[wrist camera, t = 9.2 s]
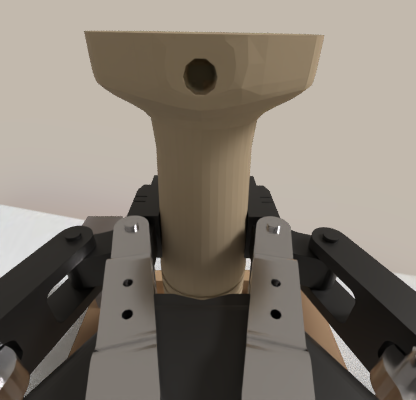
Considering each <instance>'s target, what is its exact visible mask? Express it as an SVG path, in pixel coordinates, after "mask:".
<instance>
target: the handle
mask: <svg viewBox="0 0 416 400" xmlns="http://www.w3.org/2000/svg"><path fill="white" fill-rule="evenodd" d="M84 32H85V37H86V43H87V47H88V52H89V57H90V62H91V66H92V70H93V73H94V77H95V79H96V81H97V83H99V84H100V85H101V86H102V87H104V88H105V89H106V90H108V91H109V92H111V93H112V94H114V95H116V96H117V97H119V98H121V99H123V100H125V101H127V102H129V103H131V104H133V105H135V106H137V107H138V108H140V109H142V110H144V111H145V112H146V113H147V114H148V115H149V116H150V117H151V120H152V126H153V131H154V136H155V142H156V148H157V167H158V189H159V209H160V225H161V240H162V258H161V272H162V281H163V288H164V294H177V295H181V296H186V297H190V298H194V299H199V300H206V299H210V298H214V297H219V296H223V295H227V294H242V289H243V282H244V275H245V266H246V258H244V250H245V238H246V224H247V210H248V195H249V179H250V163H251V162H250V161H251V147H252V142H253V137H254V132H255V127H256V123H257V119H258V118H259V117H260V116H261V115H262V114H263V113H265V112H266V111H268V110H270V109H272V108H274V107H276V106H278V105H280V104H282V103H284V102H287V101H289V100H291V99H293V98H294V97H296V96H297V95H299V94H301V93H302V92H303V91H305V90H306V89H307V88H309V87H310V86H311V85H312V83H313V81H314V77H315V74H316V70H317V66H318V62H319V57H320V53H321V48H322V44H323V39H324V35H311V34H310V35H309V34H273V33H225V32H223V33H222V32H165V31H164V32H163V31H162V32H161V31H84Z"/></svg>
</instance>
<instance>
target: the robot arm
mask: <svg viewBox="0 0 416 400" xmlns="http://www.w3.org/2000/svg"><path fill="white" fill-rule="evenodd" d="M156 258H162V240H161V225H160V209H159V189H158V175H155V176H154V178H153V181H152V184H151V185H143V186H142V187H141V188H139V189H138V191H137V193H136V196H135V198H134V200H133V203H132V205H131V207H130V210H129V213H128V215H127V217H125V218H122V219H120V220H119V221H118V222H117V223H116V224H115V225H114V230H111V231H108V232H103V233H99V234H93V231H92V229H91V228H89V227H87V226H74V227H70V228H67V229H65V230H63V231H62V232H60V233H59V234H57V235H56V236H55V237H53V238H52V239H51V240H50V241H48V242H47V243H46V244H44V245H43V246H42V247H40V248H39V249H38V250H36V251H35V252H34V253H32V254H31V255H30V256H29V257H27V258H26V259H25V260H23V261H22V262H21V263H19V264H18V265H17V266H15V267H14V268H13V269H11V270H10V271H9V272H8V273H6V274H5V275H4V276H2V277H1V278H0V400H416V291H414V290H413V289H412V288H411V287H409V286H408V285H407V284H406V283H404V282H403V281H402V280H401V279H399V278H398V277H397V276H396V275H394V274H393V273H392V272H390V271H389V270H388V269H387V268H385V267H384V266H383V265H381V264H380V263H379V262H378V261H377V260H375V259H374V258H373V257H372V256H370V255H369V254H368V253H367V252H365V251H364V250H363V249H362V248H360V247H359V246H358V245H357V244H355V243H354V242H353V241H351V240H350V239H349V238H348V237H346V236H345V235H344V234H342V233H341V232H339V231H337V230H335V229H331V228H325V227H322V228H317V229H315V230H314V231H313V232H312V235H307V234H302V233H298V232H295V231H292V230H291V227H290V225H289V224H288V223H287V222H286V221H285V220H283V219H281V218H280V216H279V214H278V211H277V209H276V207H275V204H274V201H273V199H272V196H271V194H270V191H269V190H268V189H266V188H265V187H264V186H256V183H255V180H254V177H253V176H250V179H249V195H248V210H247V224H246V238H245V250H244V258H250V259H251V266H250V274H249V284H248V293H247V294H227V295H223V296H219V297H214V298H210V299H206V300H199V299H194V298H190V297H186V296H181V295H177V294H157V287H156V276H155V266H154V265H155V262H156ZM66 275H68V279H67V280H66V281H65V282H64V283H63V284H62V285H61V286H60V287H59V288H58V289H57V290H56V291H55V292H54V293H53V294H52V295H51V296H50V297H49V298H47V297H48V294H49V292H50V291H51V289H52V288H53V287H54V286H55V285H56V284H57V283H58V282H60V281H61V280H62V279H63V278H64V277H65V276H66ZM336 277H338V278H339V279H340V280H341V281H342V282H343V283H344V284H345V285H346V286H347V287H348V288H349V289H350V290H351V291H352V292H353V294H354V296H355V299H354V298H353V297H352V296H351V295H350V294H349V293H348V292H347V291H346V290H345V289H344V288H343V287H342V286H341V285H340V284H339V283H338V282H337V281H336ZM301 290H302V292H303V293H304V294H305V295H306V296H307V298H308V299H309V300H310V301H311V303H312V304H313V305H314V306H315V307H316V309H317V310H318V311H319V312H320V313H321V315H322V316H323V317H324V318H325V319H326V321H327V322H328V323H329V324H330V325H331V327H332V328H333V329H334V330H335V331H336V333H337V334H338V335H339V336H340V338H341V339H342V340H343V341H344V342H345V344H346V345H347V346H348V347H349V348H350V350H351V351H352V352H353V353H354V354H355V356H356V357H357V358H358V359H359V360H360V362H361V363H362V364H363V365H364V366H365V368H366V369H367V370H368V371H369V372H370V381H371V385H372V387H373V389H374V391H375V393H376V394H375V395H374V394H373V393H371V392H370V391H369V390H368V389H367V388H366V387H365V386H364V385H363V384H362V383H361V382H360V381H358V380H357V379H356V378H355V377H354V376H353V375H352V374H351V373H350V372H349V371H348V370H347V369H345V368H344V367H343V366H342V365H341V364H340V363H339V362H338V361H337V360H336V359H335V358H334V357H333V356H331V355H330V354H329V353H328V352H327V351H326V350H325V349H324V348H323V347H322V346H321V345H320V344H318V343H317V342H316V341H315V340H314V339H313V338H312V337H311V336H310V335H309V334H308V333H307V332H305V331H304V320H303V310H302V300H301ZM101 291H102V299H101V307H100V316H99V324H98V331H97V332H96V333H95V334H94V335H93V336H92V337H91V338H90V339H89V340H87V341H86V342H85V343H84V344H83V345H82V346H81V347H80V348H79V349H77V350H76V351H75V352H74V353H73V354H72V355H71V356H70V357H69V358H67V359H66V360H65V361H64V362H63V363H62V364H61V365H60V366H59V367H58V368H56V369H55V370H54V371H53V372H52V373H51V374H50V375H49V376H48V377H46V378H45V379H44V380H43V381H42V382H41V383H40V384H39V385H38V386H36V387H35V388H34V389H33V390H32V391H31V392H30V393H29V394H28V395H26V396H25V397H24V394H25V392H26V390H27V388H28V385H29V381H30V374H31V373H32V372H33V370H34V369H35V368H36V367H37V366H38V365H39V363H40V362H41V361H42V360H43V359H44V358H45V356H46V355H47V354H48V353H49V352H50V351H51V349H52V348H53V347H54V346H55V345H56V344H57V342H58V341H59V340H60V339H61V338H62V337H63V335H64V334H65V333H66V332H67V331H68V330H69V328H70V327H71V326H72V325H73V324H74V323H75V321H76V320H77V319H78V318H79V317H80V316H81V314H82V313H83V312H84V311H85V310H86V309H87V307H88V306H89V305H90V304H91V303H92V302H93V300H94V299H95V298H96V297H97V296H98V295H99V293H100V292H101Z"/></svg>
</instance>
